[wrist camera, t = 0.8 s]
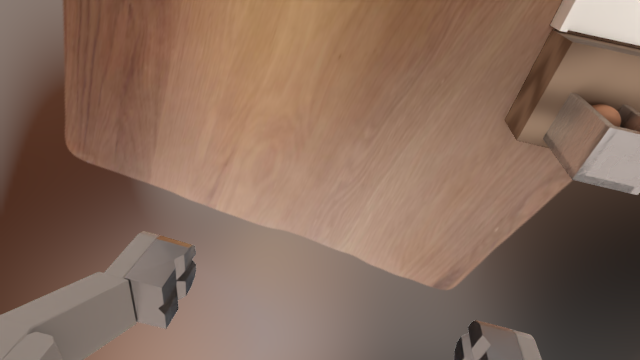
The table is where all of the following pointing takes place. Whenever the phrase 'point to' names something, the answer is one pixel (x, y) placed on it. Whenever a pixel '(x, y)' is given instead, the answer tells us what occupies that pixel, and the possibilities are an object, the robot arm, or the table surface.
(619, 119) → the ball
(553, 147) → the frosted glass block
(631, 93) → the step block
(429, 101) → the table surface
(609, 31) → the tray
